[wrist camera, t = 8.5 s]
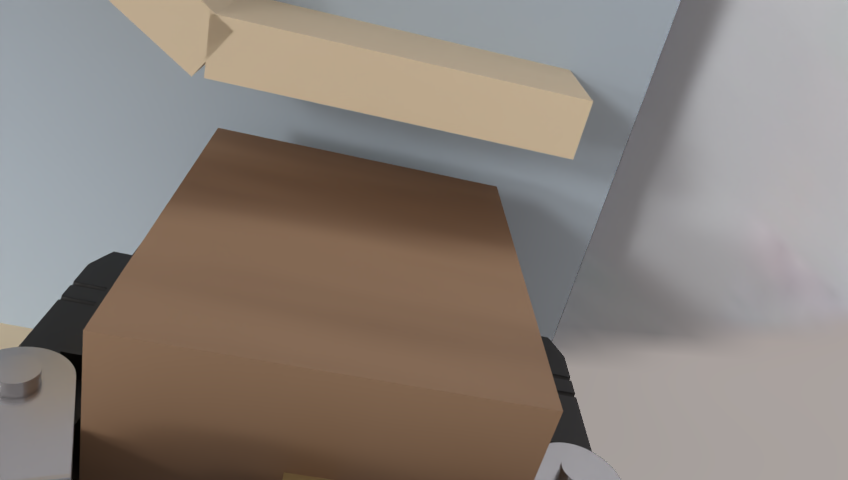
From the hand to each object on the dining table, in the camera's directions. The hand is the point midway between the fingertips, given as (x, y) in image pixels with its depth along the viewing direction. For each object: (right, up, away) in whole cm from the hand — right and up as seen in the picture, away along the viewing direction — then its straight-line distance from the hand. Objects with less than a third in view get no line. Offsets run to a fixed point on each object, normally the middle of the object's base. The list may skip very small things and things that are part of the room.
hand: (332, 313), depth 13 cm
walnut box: (0, +1, +1) cm, 1 cm away
